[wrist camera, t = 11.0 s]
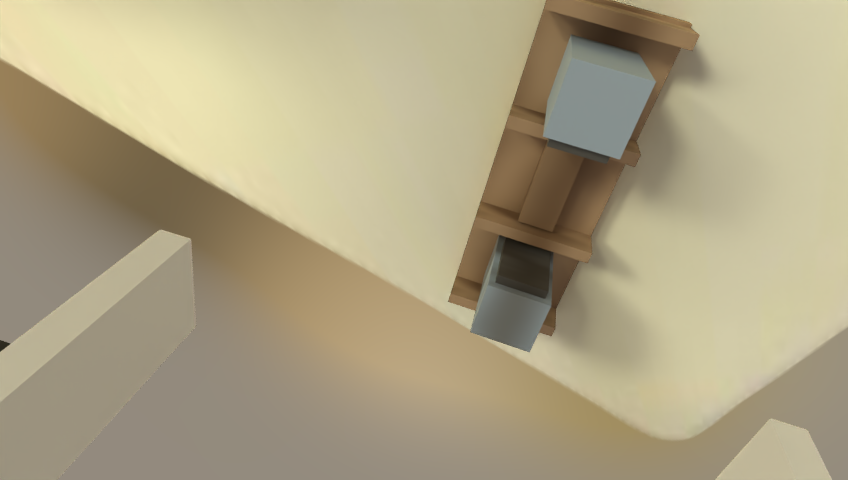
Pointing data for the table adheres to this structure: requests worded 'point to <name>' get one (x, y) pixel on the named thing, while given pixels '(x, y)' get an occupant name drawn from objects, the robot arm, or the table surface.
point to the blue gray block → (596, 99)
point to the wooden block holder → (551, 177)
